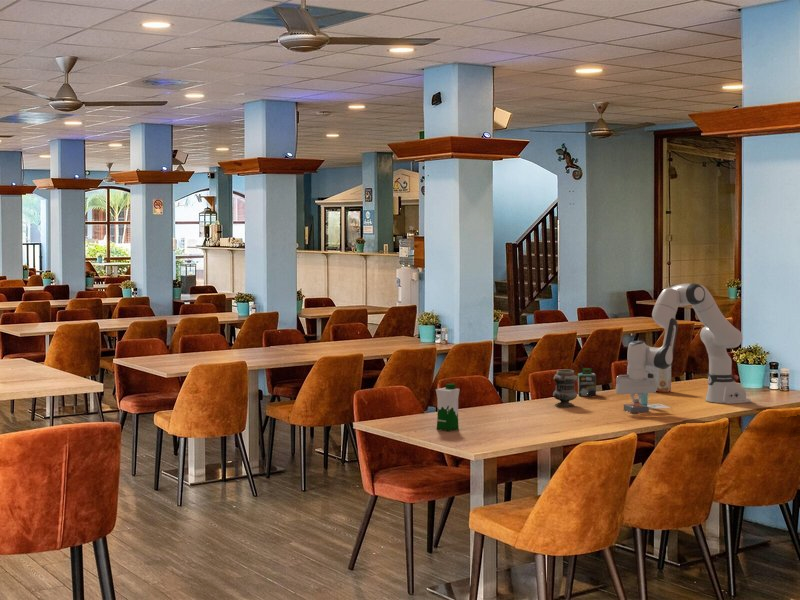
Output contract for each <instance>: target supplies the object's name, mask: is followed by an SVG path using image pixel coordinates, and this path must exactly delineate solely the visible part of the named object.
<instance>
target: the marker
mask: <svg viewBox="0 0 800 600" xmlns="http://www.w3.org/2000/svg"><path fill="white" fill-rule="evenodd" d="M648 394H649V393H642V396H641V398H640V403H641V404H643V405H645V406H647V404H649V403H648V402H649V395H648Z"/></svg>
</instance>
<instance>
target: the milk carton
mask: <svg viewBox="0 0 800 600" xmlns="http://www.w3.org/2000/svg"><path fill="white" fill-rule="evenodd" d="M435 393H436V398H437V419H436V430H438V429H441V430H440V431H444V430H448V431H447V432H450V431H449V430H452V431H456V430H455V429H457V430H459V428H460V427H459V396H460V388H457V387H456V384H455V383H452V382H451V383H450V382H448V383H445V387H441V388H440V387H439V388H435Z"/></svg>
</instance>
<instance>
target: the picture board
mask: <svg viewBox="0 0 800 600" xmlns="http://www.w3.org/2000/svg"><path fill="white" fill-rule="evenodd" d="M647 406H648V407H649V410H651V409H653V410H654V409H672V407H670V406H667V405H665V404H662V403H648V404H647Z"/></svg>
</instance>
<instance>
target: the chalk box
mask: <svg viewBox="0 0 800 600" xmlns="http://www.w3.org/2000/svg"><path fill="white" fill-rule="evenodd" d="M586 371H587V372H586ZM587 393H588V394H587ZM577 396H578V397H592V396H597V375H596V373H594V372H592V367H590V368H589V367H582V372H578V373H577Z"/></svg>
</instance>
